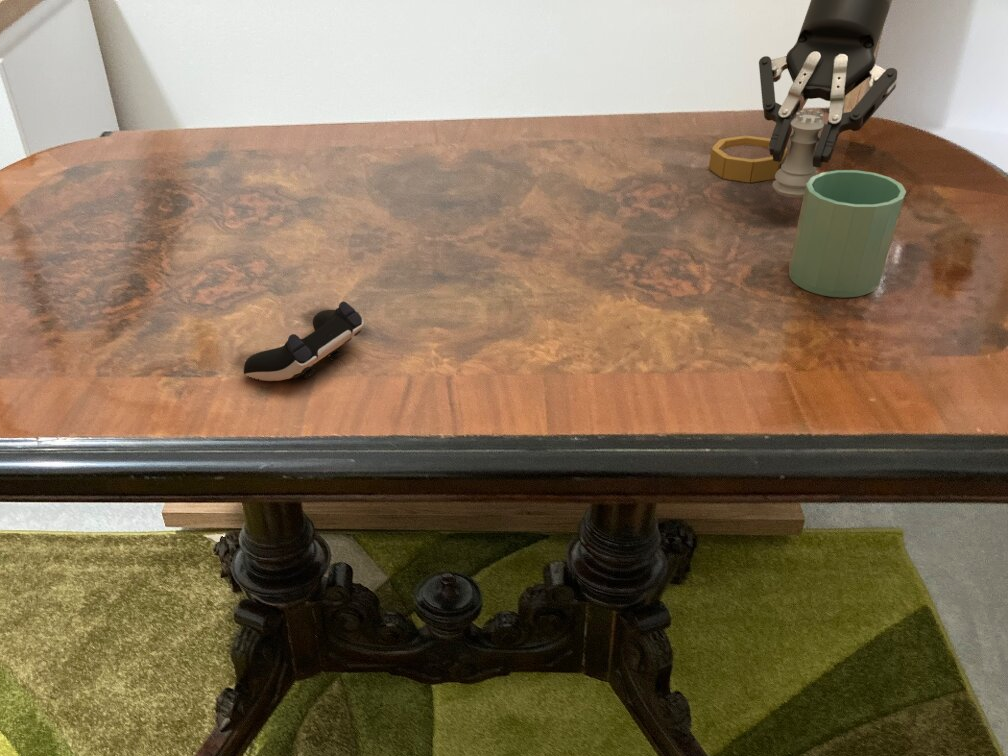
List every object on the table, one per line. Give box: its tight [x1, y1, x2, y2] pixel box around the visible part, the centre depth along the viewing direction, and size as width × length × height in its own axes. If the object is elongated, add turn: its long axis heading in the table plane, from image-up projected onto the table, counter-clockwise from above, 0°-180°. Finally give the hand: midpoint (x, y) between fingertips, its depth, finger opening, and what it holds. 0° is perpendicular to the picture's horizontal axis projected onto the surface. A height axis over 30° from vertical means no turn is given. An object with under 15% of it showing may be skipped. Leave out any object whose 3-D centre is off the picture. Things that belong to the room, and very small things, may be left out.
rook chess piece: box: [772, 109, 826, 199], centre depth 95 cm, size 4×4×8 cm
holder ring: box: [708, 135, 788, 184], centre depth 109 cm, size 8×8×2 cm
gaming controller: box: [243, 301, 364, 382], centre depth 81 cm, size 11×4×7 cm
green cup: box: [788, 169, 907, 299], centre depth 86 cm, size 8×8×9 cm
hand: (796, 160), depth 93 cm, fingers closed on rook chess piece, 3 cm apart
